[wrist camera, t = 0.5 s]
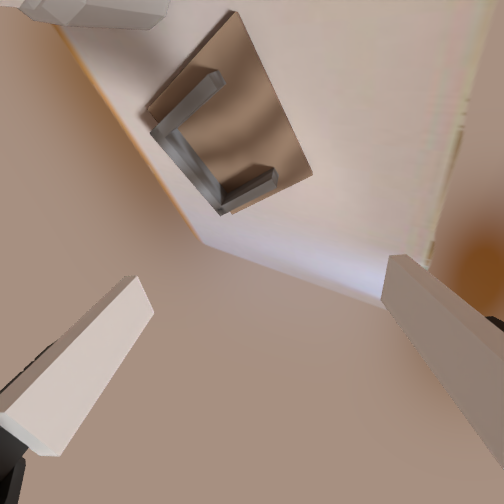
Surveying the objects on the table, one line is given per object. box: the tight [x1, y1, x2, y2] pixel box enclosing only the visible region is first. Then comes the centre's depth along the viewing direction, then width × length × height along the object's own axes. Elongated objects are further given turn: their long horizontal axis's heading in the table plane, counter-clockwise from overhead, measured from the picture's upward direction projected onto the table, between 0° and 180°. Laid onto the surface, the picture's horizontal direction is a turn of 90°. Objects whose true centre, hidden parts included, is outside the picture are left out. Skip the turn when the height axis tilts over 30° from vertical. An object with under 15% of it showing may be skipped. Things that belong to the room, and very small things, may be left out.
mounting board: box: [147, 12, 313, 216], centre depth 30 cm, size 20×16×5 cm
